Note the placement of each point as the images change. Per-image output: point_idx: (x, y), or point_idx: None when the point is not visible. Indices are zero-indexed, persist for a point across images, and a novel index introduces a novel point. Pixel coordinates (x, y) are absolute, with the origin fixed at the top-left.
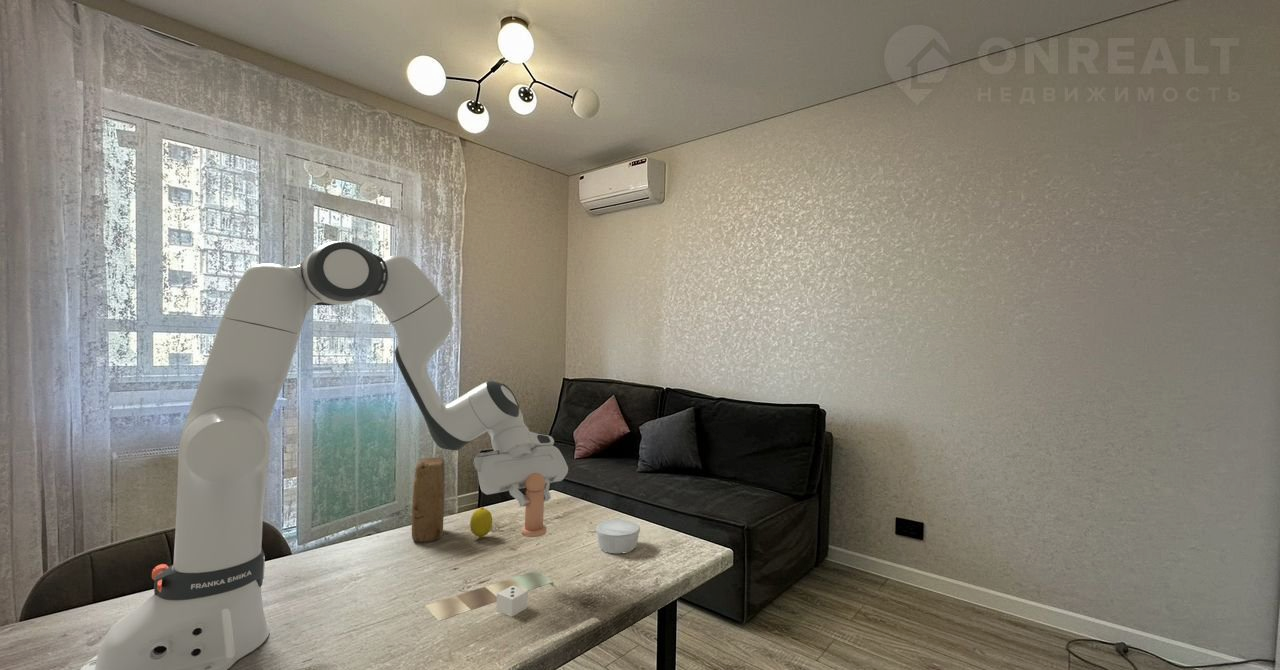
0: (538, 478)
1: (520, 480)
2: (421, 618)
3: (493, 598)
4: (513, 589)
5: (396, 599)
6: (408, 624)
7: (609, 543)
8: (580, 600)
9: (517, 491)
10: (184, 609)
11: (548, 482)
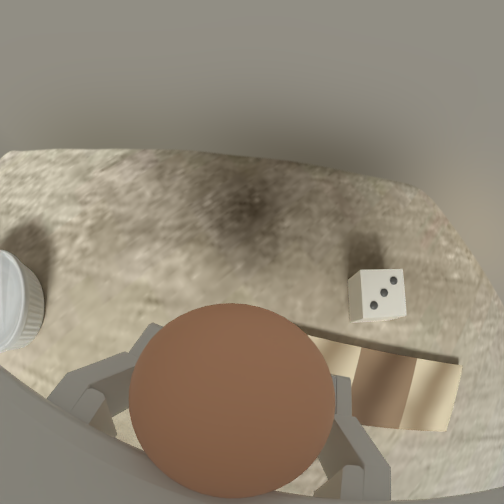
0: (265, 328)
1: (336, 500)
2: (458, 406)
3: (366, 363)
4: (374, 301)
5: (437, 491)
6: (475, 402)
7: (34, 298)
8: (249, 225)
9: (369, 445)
10: None
11: (77, 379)
